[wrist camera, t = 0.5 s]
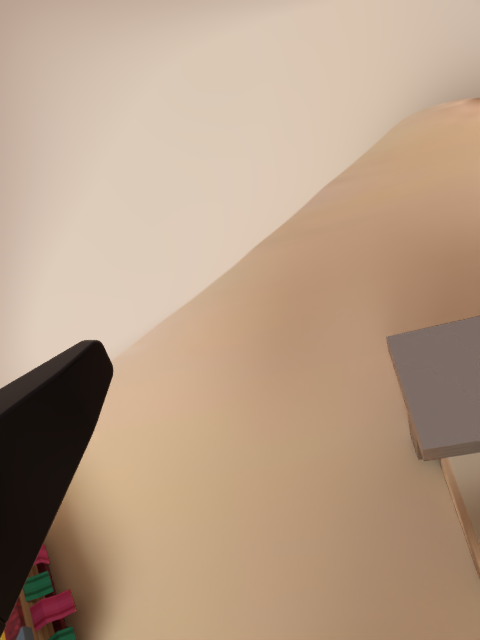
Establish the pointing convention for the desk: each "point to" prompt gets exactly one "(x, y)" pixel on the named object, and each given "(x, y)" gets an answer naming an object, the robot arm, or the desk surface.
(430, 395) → the grey l-shaped piece
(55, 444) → the robot arm
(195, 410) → the desk surface
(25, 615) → the decorative book
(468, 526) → the socket block
